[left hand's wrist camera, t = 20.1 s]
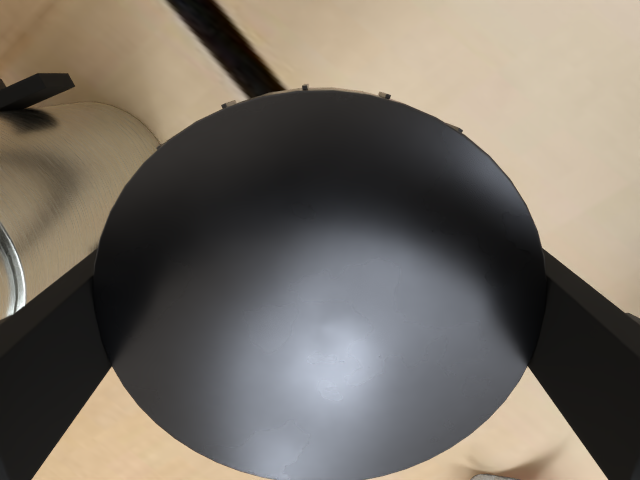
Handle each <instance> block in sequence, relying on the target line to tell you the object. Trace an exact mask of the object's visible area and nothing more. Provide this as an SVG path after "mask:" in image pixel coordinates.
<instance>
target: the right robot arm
mask: <svg viewBox="0 0 640 480" xmlns="http://www.w3.org/2000/svg"><path fill="white" fill-rule="evenodd" d="M73 87H75V85H74V84H73V82H72V80H71V78H70V76H69V75H68V73H37V74H35V75H33V76H31V77H28V78H26V79H24V80H22V81H19V82H17V83H15V84H13V85H11V86H8V87H6V86H5V84H4V83H3V81H2V79H0V112H1V111H10V110H19V109H25V108H27V107H29V106H31V105H34V104H36V103H38V102H41V101H43V100H45V99H48V98H50V97H52V96H54V95H57V94H59V93H61V92H64V91H66V90H68V89H70V88H73Z"/></svg>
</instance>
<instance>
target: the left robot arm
mask: <svg viewBox="0 0 640 480" xmlns="http://www.w3.org/2000/svg"><path fill="white" fill-rule="evenodd" d="M97 249H98V248H97ZM97 249H96V250H94V251H93V252H92V253H90V254H89V255H88V256H87V257H85V258H84V259H83V260H82V261H80V262H79V263H78V264H76V265H75V266H74V267H73V268H71V269H70V270H69V271H68V272H66V273H65V274H64V275H63V276H61V277H60V278H59V279H57V280H56V281H55V282H54V283H52V284H51V285H50V286H49V287H47V288H46V289H45V290H43V291H42V292H41V293H40V294H38V295H37V296H36V297H35V298H33V299H32V300H31V301H29V302H28V303H27V304H26V305H24V306H23V307H22V308H21V309H19V310H18V311H17V312H15V313H14V314H13V315H9V316H7V317H5V318H3V319H1V320H0V480H31V479H32V478H33V477H34V475H35V474H36V472H37V471H38V470H39V468H40V467H41V465H42V464H43V463H44V461H45V460H46V458H47V457H48V455H49V454H50V453H51V451H52V450H53V448H54V447H55V446H56V444H57V443H58V441H59V440H60V439H61V437H62V436H63V434H64V433H65V432H66V430H67V429H68V427H69V426H70V424H71V423H72V422H73V420H74V419H75V417H76V416H77V415H78V413H79V412H80V410H81V409H82V408H83V406H84V405H85V403H86V402H87V400H88V399H89V398H90V396H91V395H92V393H93V392H94V391H95V389H96V388H97V386H98V385H99V384H100V382H101V381H102V379H103V378H104V377H105V375H106V374H107V372H108V371H109V369H110V368H111V367H112V365H111V363H110V361H109V358H108V356H107V354H106V351H105V349H104V346H103V344H102V341H101V337H100V333H99V329H98V325H97V320H96V316H95V308H94V299H93V278H94V263H95V259H96V254H97ZM542 250H543V254H544V258H545V269H546V280H547V292H546V308H545V314H544V318H543V323H542V327H541V331H540V336H539V339H538V342H537V345H536V348H535V350H534V353H533V356H532V358H531V360H530V362H529V364H528V367H529V368H530V370H531V371H532V373H533V374H534V375H535V377H536V378H537V380H538V381H539V383H540V384H541V385H542V387H543V388H544V390H545V391H546V392H547V394H548V395H549V397H550V398H551V399H552V401H553V402H554V404H555V405H556V407H557V408H558V409H559V411H560V412H561V414H562V415H563V416H564V418H565V419H566V421H567V422H568V423H569V425H570V426H571V428H572V429H573V431H574V432H575V433H576V435H577V436H578V438H579V439H580V440H581V442H582V443H583V445H584V446H585V447H586V449H587V450H588V452H589V453H590V454H591V456H592V457H593V459H594V460H595V462H596V463H597V464H598V466H599V467H600V469H601V470H602V471H603V473H604V474H605V476H606V477H607V478H608V480H640V318H638V317H636V316H634V315H632V314H630V313H624V312H623V311H622V310H620V309H619V308H618V307H617V306H615V305H614V304H613V303H611V302H610V301H609V300H608V299H606V298H605V297H604V296H603V295H601V294H600V293H599V292H598V291H596V290H595V289H594V288H592V287H591V286H590V285H589V284H587V283H586V282H585V281H584V280H582V279H581V278H580V277H578V276H577V275H576V274H575V273H573V272H572V271H571V270H570V269H568V268H567V267H566V266H564V265H563V264H562V263H561V262H559V261H558V260H557V259H556V258H554V257H553V256H552V255H551V254H549V253H548V252H547V251H545V250H544V249H543V248H542Z"/></svg>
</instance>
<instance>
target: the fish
mask: <svg viewBox="0 0 640 480" xmlns="http://www.w3.org/2000/svg"><path fill="white" fill-rule="evenodd" d="M471 480H520V479H515V478H508V477H502V476H495V475H489V474H478V475H476V476H474V477H473V478H472V479H471Z"/></svg>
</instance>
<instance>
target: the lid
mask: <svg viewBox="0 0 640 480" xmlns="http://www.w3.org/2000/svg"><path fill="white" fill-rule="evenodd" d="M390 97H391V95H389V94H386V93H382V92H379V96H378V95H374V94H370V93H367V92H363V91H355V90H347V89H339V88H309V84H304V85H303V86H302V88H298V89H292V90H285V91H279V92H273V93H268V94H265V95H262V96H258V97H255V98H252V99H249V100H245V101H242V102H239V103H236V101H235V100H234V101H231V102H228V103H225V104H223V105H221V106H222V108H223V109H222V110H219V111H217V112H215V113H213V114H211V115H209V116H207V117H205V118H202V119H200V120H198V121H196V122H195V123H193V124H192V125H190V126H189V127H187V128H186V129H184V130H183V131H181V132H180V133H178V134H177V135H175V136H174V137H172V138H171V139H169V140H168V141H167V142H165V143H163V144H161V145H159V146H158V147H157V148H156V149H157V151H156V152H154V153H153V154H152V155H151V156H150V157H149V158H148V159H147V160H146V161H145V162H144V163H143V164H142V165H141V166H140V168H139V169H138V170H137V171H136V173H135V174H134V175H133V176H132V178H131V179H130V180H129V181H128V182H127V184H126V185H125V186H124V188H123V190H122V192H121V193H120V195H119V197H118V198H117V200H116V202H115V204H114V205H113V207H112V209H111V211H110V213H109V215H108V218H107V221H106V223H105V226H104V228H103V231H102V234H101V236H100V240H99V244H98V249H97V254H96V259H95V263H94V278H93V299H94V308H95V316H96V320H97V325H98V329H99V333H100V337H101V341H102V344H103V346H104V349H105V351H106V354H107V356H108V358H109V361H110V363H111V365H112V367H113V369H114V371H115V372H116V374H117V376H118V377H119V379H120V381H121V383H122V384H123V386H124V387H125V389H126V390H127V391H128V393H129V394H130V395H131V396H132V398H133V399H134V400H135V402H136V403H137V404H138V406H139V407H140V408H141V409H142V410H143V411H144V412H145V413H146V414H147V415H148V416H149V417H150V418H151V419H152V420H153V421H154V422H155V423H156V424H157V425H159V426H160V427H161V428H162V429H164V430H165V431H166V432H167V433H169V434H170V435H171V436H172V437H174V438H175V439H176V440H178V441H179V442H181V443H183V444H184V445H186V446H187V447H189V448H190V449H192V450H193V451H195V452H197V453H199V454H201V455H203V456H205V457H207V458H209V459H211V460H213V461H215V462H217V463H220V464H222V465H225V466H227V467H230V468H233V469H235V470H238V471H241V472H244V473H248V474H252V475H255V476H259V477H263V478H268V479H274V480H366V479H371V478H376V477H381V476H385V475H388V474H391V473H395V472H398V471H401V470H405V469H408V468H410V467H412V466H415V465H417V464H420V463H422V462H424V461H427V460H429V459H431V458H433V457H435V456H437V455H438V454H440V453H442V452H444V451H446V450H448V449H450V448H451V447H453V446H454V445H456V444H457V443H459V442H460V441H461V440H463V439H464V438H466V437H467V436H469V435H470V434H471V433H473V432H474V431H475V430H476V429H477V428H478V427H480V426H481V425H482V424H483V423H484V422H485V421H487V420H488V419H489V418H490V417H491V416H492V415H493V413H494V412H495V411H496V410H497V409H498V408H499V407H500V406H501V405H502V404H503V403H504V402H505V400H506V399H507V398H508V396H509V395H510V393H511V392H512V391H513V389H514V388H515V386H516V385H517V384H518V382H519V381H520V379H521V377H522V375H523V373H524V372H525V370H526V368H527V366H528V364H529V362H530V360H531V358H532V356H533V353H534V350H535V348H536V345H537V342H538V339H539V336H540V331H541V327H542V323H543V318H544V314H545V308H546V292H547V280H546V269H545V258H544V254H543V250H542V246H541V242H540V238H539V234H538V231H537V228H536V226H535V224H534V221H533V219H532V217H531V214H530V212H529V210H528V207H527V205H526V203H525V202H524V200H523V199H522V197H521V195H520V194H519V192H518V191H517V189H516V187H515V186H514V184H513V183H512V181H511V180H510V178H509V177H508V176H507V175H506V174H505V173H504V172H503V170H502V169H501V168H500V167H499V166H498V165H497V164H496V162H495V161H494V160H493V159H492V158H491V157H490V156H489V155H488V154H487V153H486V152H485V151H483V150H482V149H481V148H480V147H479V146H477V145H476V144H475V143H474V142H473V141H471V140H470V139H469V138H468V137H467V136H465V135H464V134H462V131H463V130H461V129H460V128H458V127H455V126H453V125H450V124H448V123H444V122H443V121H441V120H440V119H438V118H436V117H434V116H432V115H429V114H427V113H425V112H422V111H420V110H418V109H415V108H413V107H411V106H408V105H406V104H404V103H401V102H398V101H395V100H393V99H390Z"/></svg>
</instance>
